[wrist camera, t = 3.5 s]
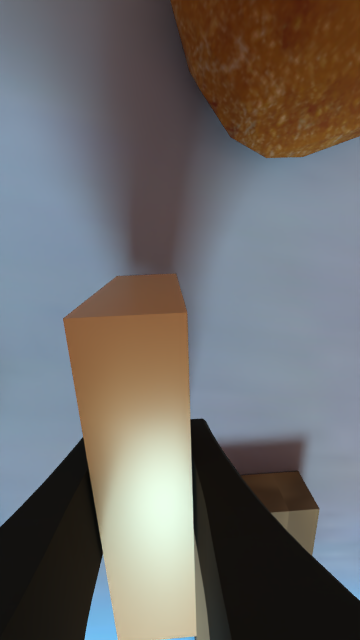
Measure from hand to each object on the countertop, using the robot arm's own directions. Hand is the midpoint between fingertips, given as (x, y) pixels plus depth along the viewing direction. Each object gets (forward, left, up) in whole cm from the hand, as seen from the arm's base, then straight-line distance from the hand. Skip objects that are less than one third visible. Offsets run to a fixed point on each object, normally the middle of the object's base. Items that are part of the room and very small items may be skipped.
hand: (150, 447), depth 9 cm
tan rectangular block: (0, 0, -4) cm, 4 cm away
